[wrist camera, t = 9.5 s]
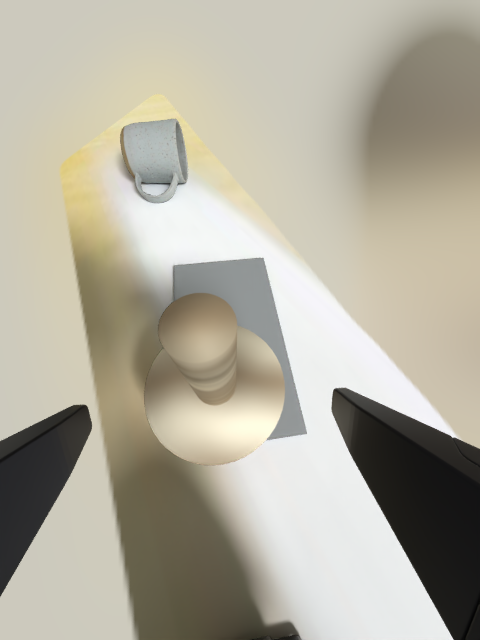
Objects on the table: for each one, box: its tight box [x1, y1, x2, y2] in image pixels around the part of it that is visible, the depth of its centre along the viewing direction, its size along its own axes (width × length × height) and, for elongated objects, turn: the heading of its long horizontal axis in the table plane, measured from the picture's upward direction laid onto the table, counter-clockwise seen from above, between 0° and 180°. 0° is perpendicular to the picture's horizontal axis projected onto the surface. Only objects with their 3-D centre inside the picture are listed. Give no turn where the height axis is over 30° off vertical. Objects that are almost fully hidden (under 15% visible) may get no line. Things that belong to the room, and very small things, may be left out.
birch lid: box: [144, 293, 285, 465], centre depth 13 cm, size 10×10×10 cm
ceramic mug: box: [120, 119, 188, 203], centre depth 34 cm, size 11×8×8 cm
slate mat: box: [174, 258, 307, 440], centre depth 24 cm, size 20×11×1 cm, turn 8°
